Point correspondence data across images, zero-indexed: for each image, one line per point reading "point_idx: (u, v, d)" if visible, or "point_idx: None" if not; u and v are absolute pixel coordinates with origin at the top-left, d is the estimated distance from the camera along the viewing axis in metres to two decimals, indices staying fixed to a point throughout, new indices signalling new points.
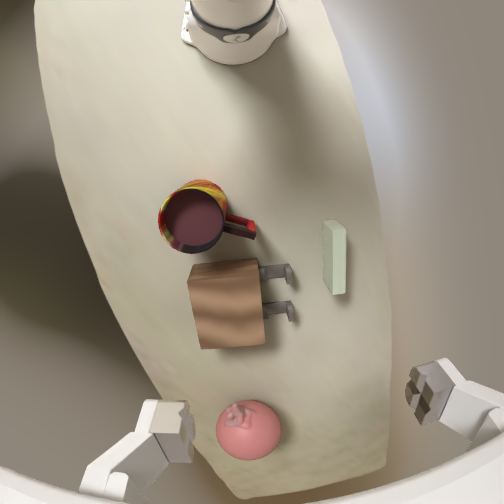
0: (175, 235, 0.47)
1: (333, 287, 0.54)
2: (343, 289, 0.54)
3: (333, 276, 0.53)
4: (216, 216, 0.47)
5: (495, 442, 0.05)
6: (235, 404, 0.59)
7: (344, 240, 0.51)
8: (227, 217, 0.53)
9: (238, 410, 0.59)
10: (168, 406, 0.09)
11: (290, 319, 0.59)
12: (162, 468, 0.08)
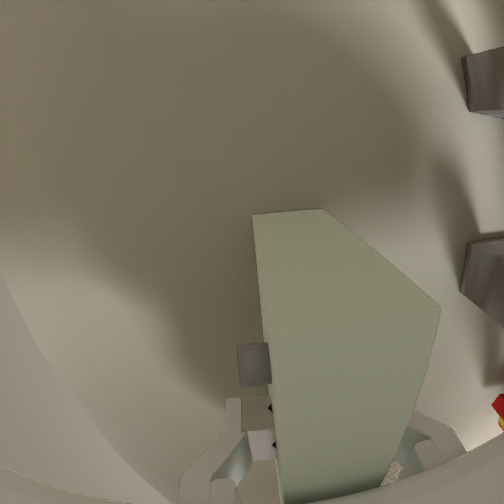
0: None
1: (412, 383, 0.04)
2: (303, 381, 0.04)
3: (389, 451, 0.05)
4: None
5: (495, 442, 0.05)
6: None
7: None
8: None
9: None
10: (253, 402, 0.09)
11: None
12: (247, 468, 0.08)
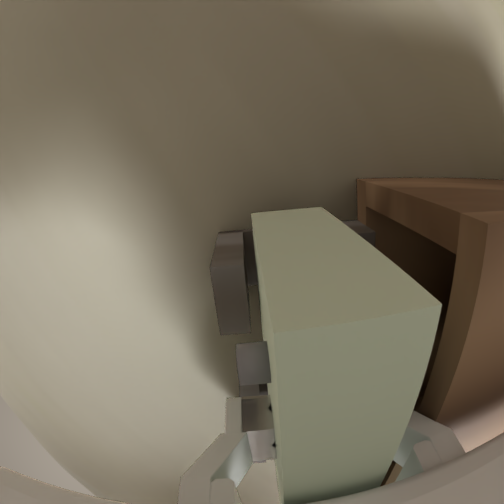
0: None
1: (413, 381, 0.04)
2: (302, 379, 0.04)
3: (389, 451, 0.05)
4: None
5: (495, 442, 0.05)
6: None
7: None
8: None
9: None
10: (253, 402, 0.09)
11: (234, 279, 0.09)
12: (247, 468, 0.08)
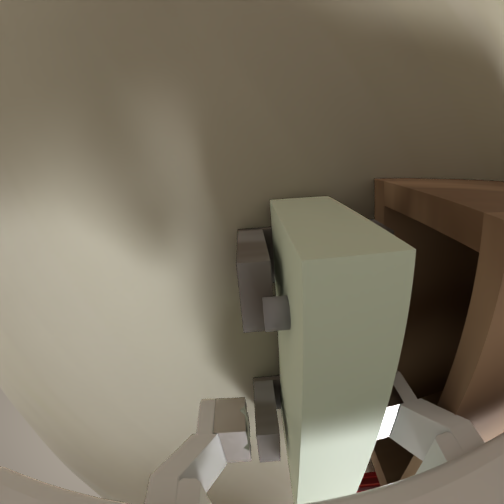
0: None
1: (401, 313, 0.06)
2: (320, 299, 0.06)
3: (387, 383, 0.07)
4: None
5: (495, 442, 0.05)
6: None
7: (304, 501, 0.09)
8: None
9: None
10: (227, 404, 0.09)
11: (261, 275, 0.09)
12: (221, 469, 0.08)
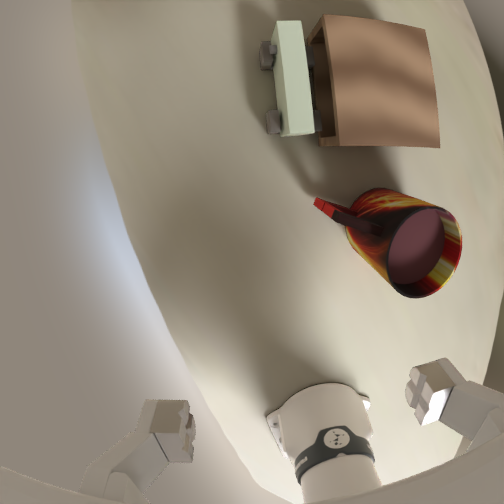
0: (437, 219, 0.29)
1: (301, 33, 0.24)
2: (281, 27, 0.24)
3: (304, 51, 0.25)
4: None
5: (495, 442, 0.05)
6: None
7: (291, 113, 0.27)
8: (353, 216, 0.35)
9: None
10: (168, 406, 0.09)
11: (268, 44, 0.27)
12: (162, 468, 0.08)
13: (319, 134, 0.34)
